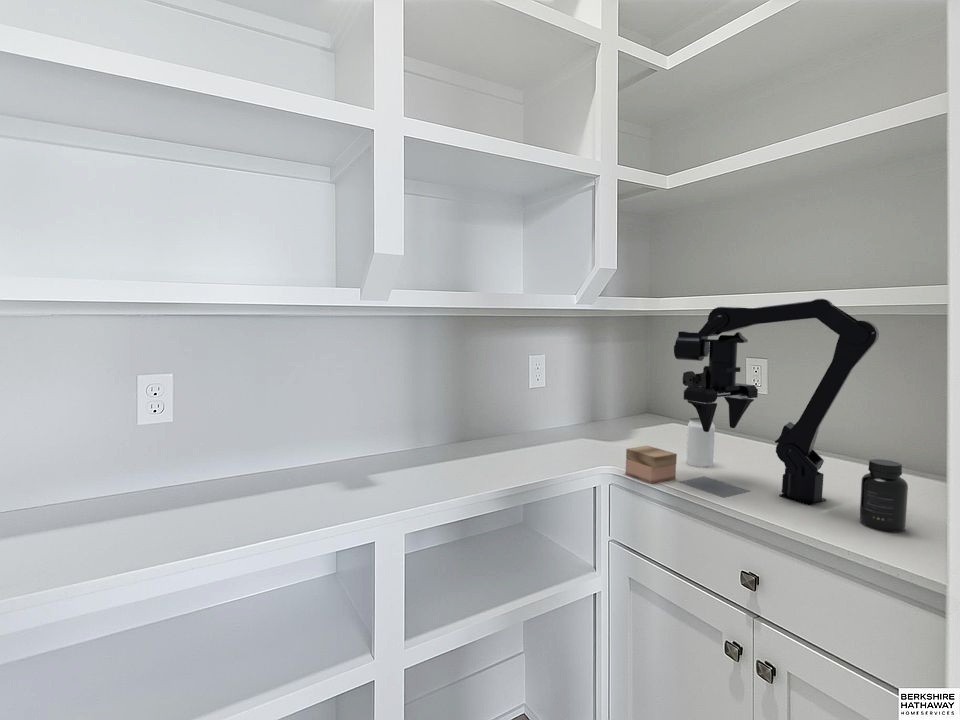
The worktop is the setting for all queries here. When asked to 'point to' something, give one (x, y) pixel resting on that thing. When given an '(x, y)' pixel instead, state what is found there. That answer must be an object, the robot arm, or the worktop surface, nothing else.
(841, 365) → the robot arm
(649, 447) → the lid
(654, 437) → the worktop surface
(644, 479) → the pink square box
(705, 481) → the mat
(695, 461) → the can
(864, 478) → the supplement bottle
